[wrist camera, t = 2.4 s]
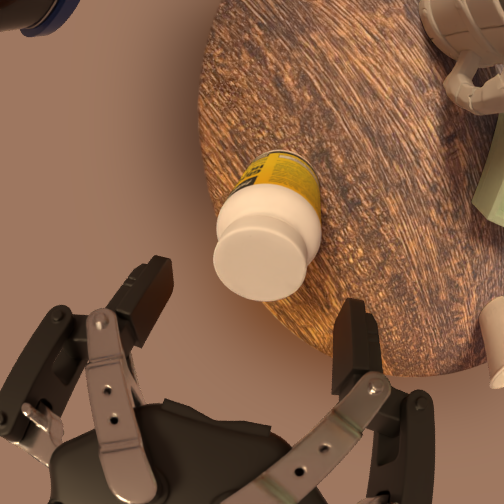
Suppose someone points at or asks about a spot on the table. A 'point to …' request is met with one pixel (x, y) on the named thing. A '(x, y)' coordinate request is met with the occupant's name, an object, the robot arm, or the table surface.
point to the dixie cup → (494, 339)
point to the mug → (469, 48)
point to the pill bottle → (269, 227)
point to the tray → (493, 179)
